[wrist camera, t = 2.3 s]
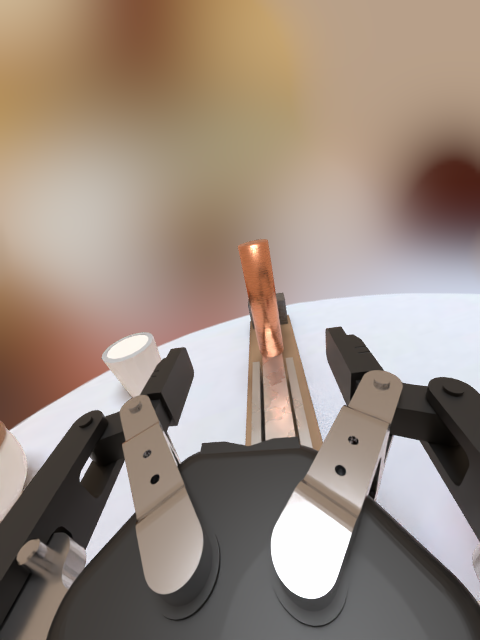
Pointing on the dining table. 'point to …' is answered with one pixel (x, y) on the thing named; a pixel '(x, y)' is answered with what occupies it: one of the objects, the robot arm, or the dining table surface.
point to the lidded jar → (10, 470)
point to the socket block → (281, 310)
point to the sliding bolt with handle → (267, 336)
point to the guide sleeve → (258, 405)
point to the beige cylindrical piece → (133, 361)
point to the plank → (288, 352)
